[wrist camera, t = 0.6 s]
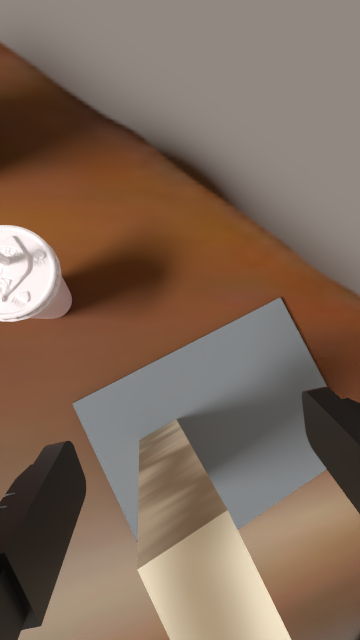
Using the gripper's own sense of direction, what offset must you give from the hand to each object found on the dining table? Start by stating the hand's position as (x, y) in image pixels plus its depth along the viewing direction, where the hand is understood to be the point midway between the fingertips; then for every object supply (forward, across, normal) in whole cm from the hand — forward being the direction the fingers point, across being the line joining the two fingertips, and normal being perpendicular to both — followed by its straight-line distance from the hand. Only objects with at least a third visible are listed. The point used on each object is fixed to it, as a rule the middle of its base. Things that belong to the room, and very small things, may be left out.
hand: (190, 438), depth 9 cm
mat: (+16, -2, +12) cm, 20 cm away
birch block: (+14, +3, +13) cm, 19 cm away
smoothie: (+19, +12, -4) cm, 23 cm away
